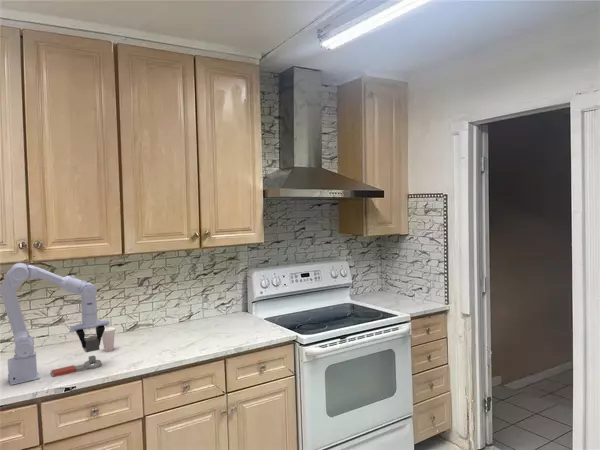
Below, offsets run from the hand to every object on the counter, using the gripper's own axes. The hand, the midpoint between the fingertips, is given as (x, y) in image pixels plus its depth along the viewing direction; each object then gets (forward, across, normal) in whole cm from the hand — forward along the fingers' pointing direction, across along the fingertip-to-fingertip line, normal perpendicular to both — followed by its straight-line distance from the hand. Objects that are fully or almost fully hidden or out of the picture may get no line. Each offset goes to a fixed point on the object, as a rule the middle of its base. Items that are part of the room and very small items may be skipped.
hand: (91, 346), depth 188 cm
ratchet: (+9, -6, 0) cm, 10 cm away
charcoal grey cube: (+1, 0, 0) cm, 1 cm away
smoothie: (+9, +11, +17) cm, 22 cm away
